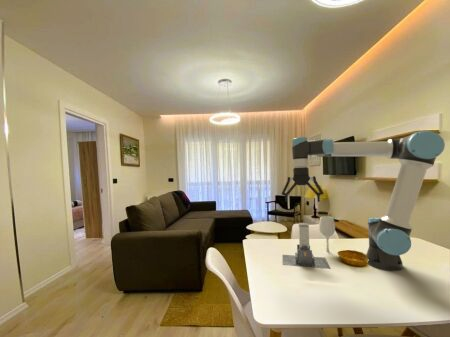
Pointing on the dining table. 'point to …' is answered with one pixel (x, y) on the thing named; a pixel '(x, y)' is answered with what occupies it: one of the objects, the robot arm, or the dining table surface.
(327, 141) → the robot arm
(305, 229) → the column
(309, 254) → the stand base
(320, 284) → the dining table surface
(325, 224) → the wineglass
